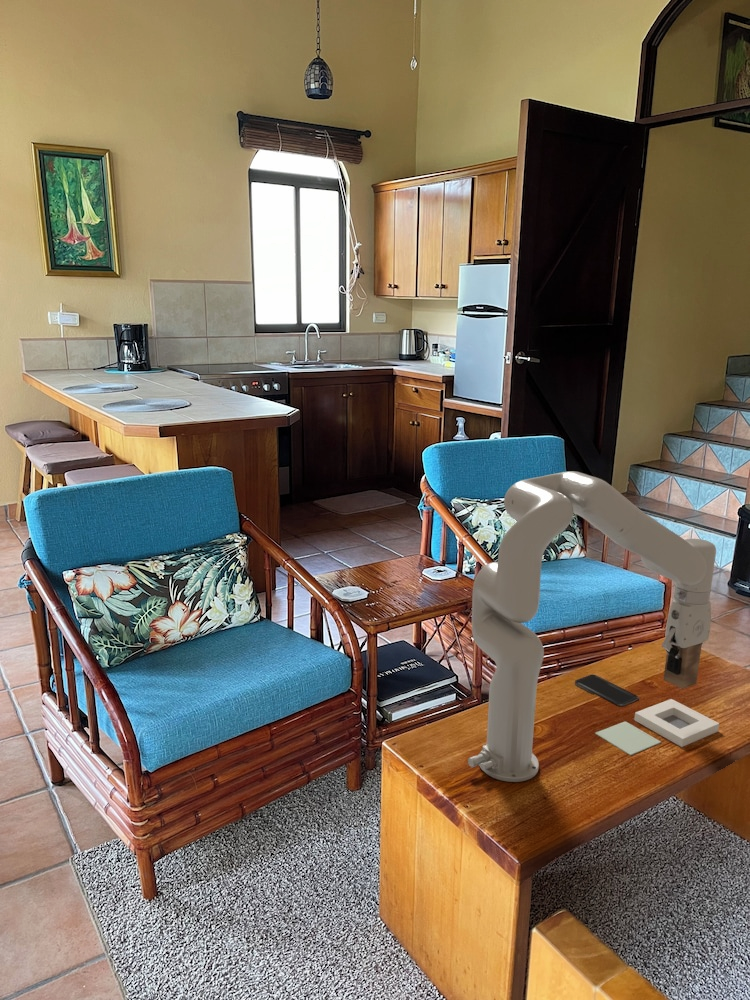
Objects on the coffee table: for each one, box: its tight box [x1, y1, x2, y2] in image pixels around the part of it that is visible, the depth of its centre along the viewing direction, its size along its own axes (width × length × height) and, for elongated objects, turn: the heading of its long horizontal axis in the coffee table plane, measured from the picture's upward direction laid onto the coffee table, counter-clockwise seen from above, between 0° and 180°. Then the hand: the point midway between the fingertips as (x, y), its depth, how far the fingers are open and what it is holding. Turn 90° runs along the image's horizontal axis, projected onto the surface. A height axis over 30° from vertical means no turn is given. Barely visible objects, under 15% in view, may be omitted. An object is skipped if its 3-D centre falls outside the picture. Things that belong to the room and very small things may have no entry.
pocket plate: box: [633, 698, 720, 748], centre depth 172 cm, size 13×13×2 cm
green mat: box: [594, 720, 662, 756], centre depth 166 cm, size 10×10×1 cm
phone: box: [574, 674, 640, 707], centre depth 188 cm, size 8×1×15 cm
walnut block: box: [663, 640, 703, 690], centre depth 168 cm, size 5×5×10 cm
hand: (681, 668), depth 168 cm, fingers closed on walnut block, 5 cm apart
